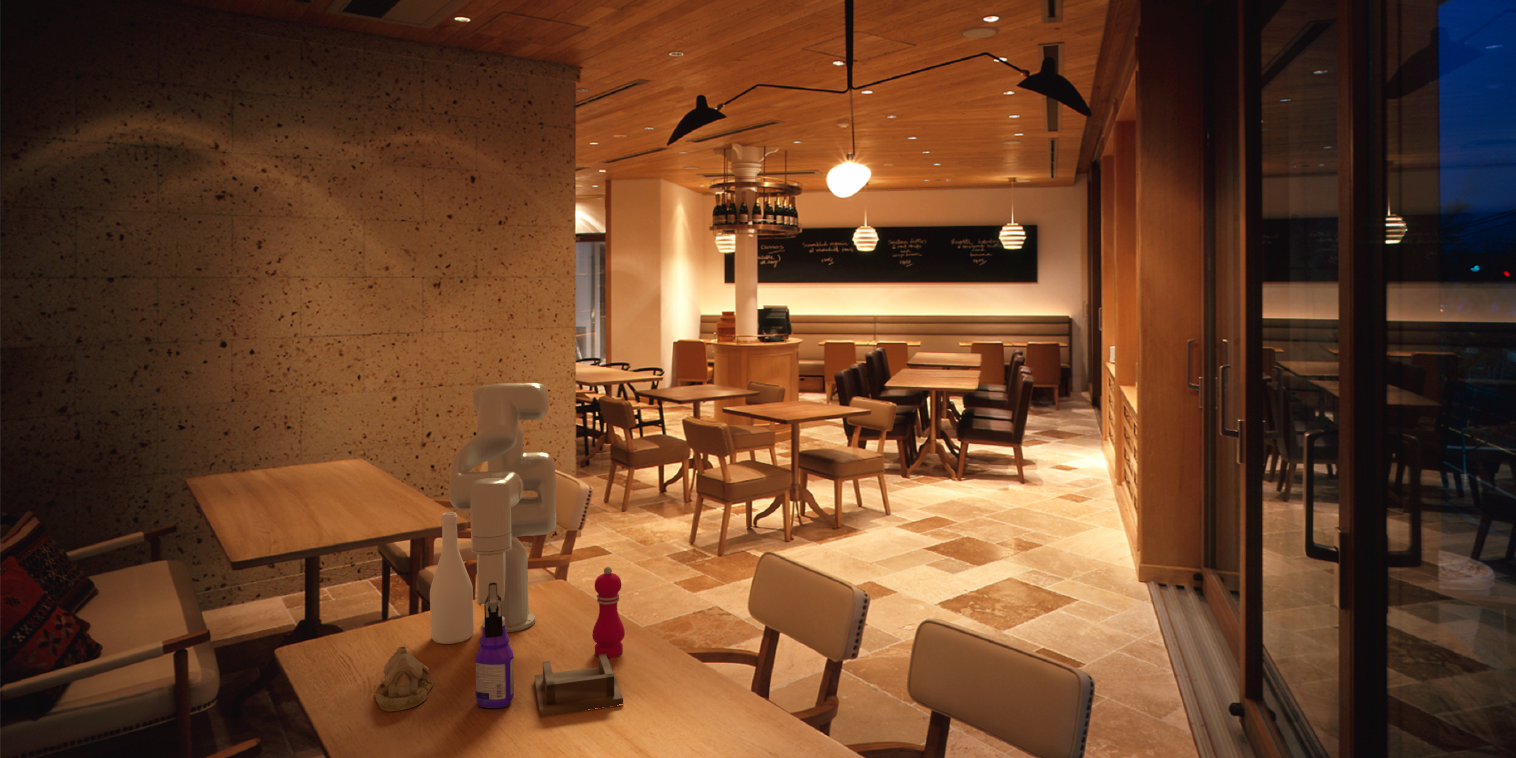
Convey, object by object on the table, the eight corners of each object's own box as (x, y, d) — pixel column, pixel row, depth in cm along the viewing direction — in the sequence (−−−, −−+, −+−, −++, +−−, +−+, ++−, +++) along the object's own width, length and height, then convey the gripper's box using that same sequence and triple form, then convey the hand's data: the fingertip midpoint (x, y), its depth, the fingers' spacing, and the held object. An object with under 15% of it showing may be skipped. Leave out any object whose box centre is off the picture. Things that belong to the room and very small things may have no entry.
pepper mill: (621, 659, 191) (620, 572, 189) (589, 659, 191) (588, 571, 189) (627, 646, 198) (626, 562, 196) (596, 646, 198) (595, 561, 197)
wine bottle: (429, 633, 205) (426, 510, 203) (471, 627, 209) (468, 507, 207) (432, 648, 197) (429, 520, 194) (476, 641, 201) (472, 515, 198)
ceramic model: (374, 686, 178) (373, 639, 177) (432, 677, 182) (431, 631, 181) (374, 716, 165) (372, 666, 164) (436, 705, 169) (434, 656, 168)
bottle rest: (534, 681, 179) (534, 656, 179) (611, 672, 184) (610, 647, 184) (539, 717, 164) (539, 689, 164) (623, 705, 169) (622, 678, 169)
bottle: (518, 697, 172) (516, 613, 171) (507, 711, 167) (505, 624, 165) (483, 695, 173) (481, 612, 172) (471, 709, 167) (469, 622, 166)
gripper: (471, 533, 174) (473, 615, 175) (470, 555, 157) (473, 646, 159) (509, 530, 176) (511, 611, 177) (513, 551, 160) (515, 641, 161)
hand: (493, 627), depth 168 cm, fingers open, 9 cm apart
